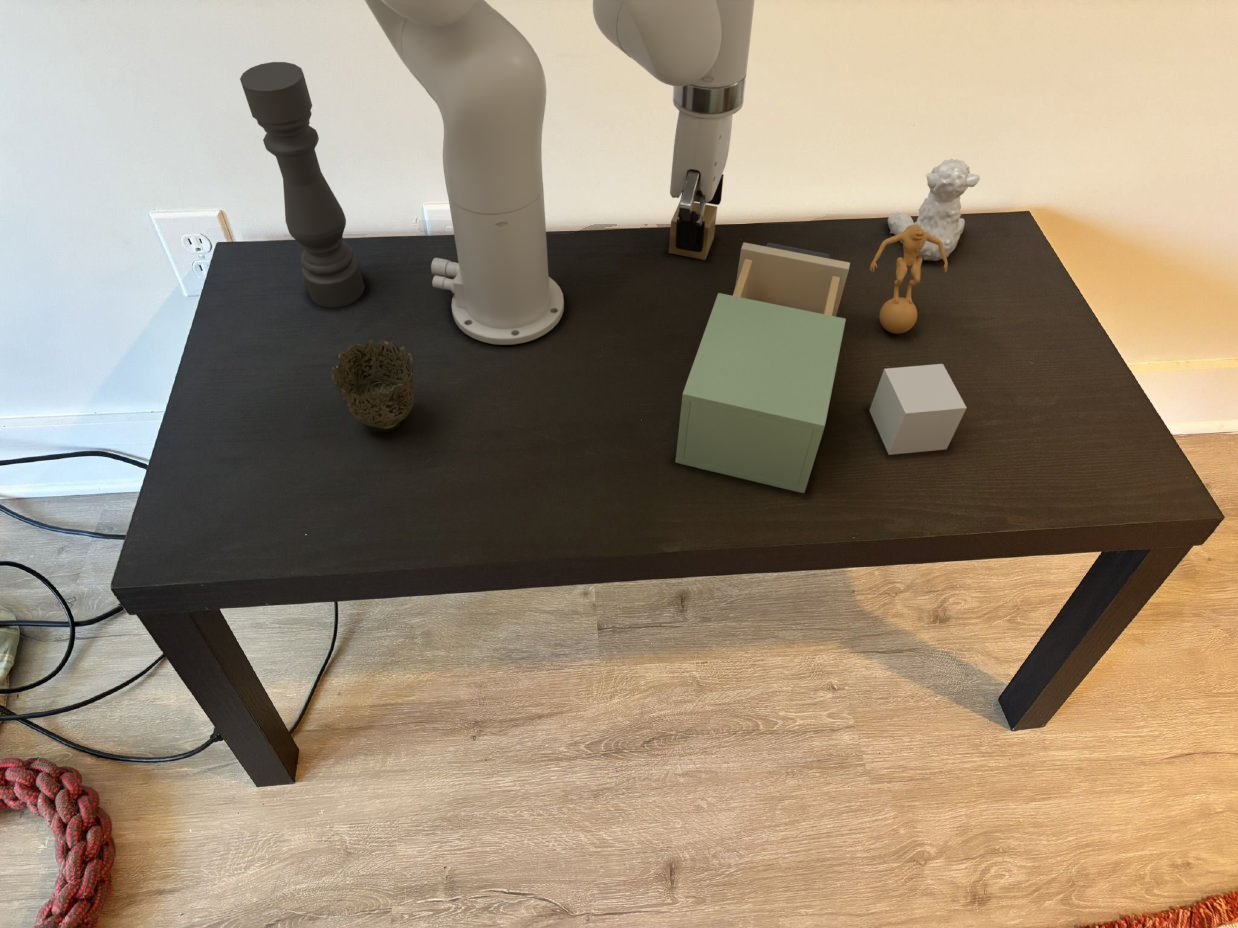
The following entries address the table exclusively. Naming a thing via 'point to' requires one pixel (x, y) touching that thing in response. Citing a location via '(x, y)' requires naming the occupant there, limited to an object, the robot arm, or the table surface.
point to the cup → (376, 384)
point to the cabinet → (759, 392)
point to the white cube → (916, 409)
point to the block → (709, 230)
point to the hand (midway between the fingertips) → (698, 225)
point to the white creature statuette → (939, 208)
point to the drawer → (791, 277)
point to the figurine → (899, 310)
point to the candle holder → (304, 182)
